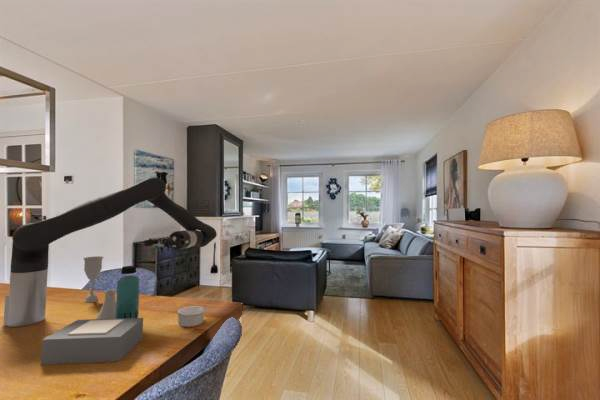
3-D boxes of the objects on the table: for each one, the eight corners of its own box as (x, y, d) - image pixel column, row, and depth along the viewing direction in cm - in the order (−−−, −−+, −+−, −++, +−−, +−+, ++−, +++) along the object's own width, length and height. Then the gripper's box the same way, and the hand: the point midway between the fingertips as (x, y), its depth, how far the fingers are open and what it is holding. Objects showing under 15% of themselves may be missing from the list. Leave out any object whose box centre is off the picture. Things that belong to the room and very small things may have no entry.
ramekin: (193, 316, 102) (193, 304, 102) (210, 321, 97) (210, 308, 97) (171, 324, 94) (171, 311, 94) (188, 330, 89) (189, 316, 90)
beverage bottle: (120, 335, 85) (123, 268, 86) (110, 330, 88) (113, 266, 89) (142, 327, 90) (144, 265, 91) (131, 323, 94) (134, 263, 95)
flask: (108, 324, 93) (109, 294, 93) (90, 322, 94) (92, 292, 95) (126, 316, 100) (127, 288, 101) (109, 315, 101) (110, 287, 102)
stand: (40, 364, 68) (42, 337, 68) (76, 340, 81) (78, 318, 81) (119, 361, 70) (120, 335, 70) (142, 338, 83) (143, 316, 83)
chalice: (92, 303, 114) (95, 259, 115) (76, 303, 114) (78, 258, 115) (105, 298, 121) (107, 256, 122) (90, 297, 122) (92, 256, 122)
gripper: (169, 230, 119) (138, 233, 103) (198, 231, 116) (171, 233, 100) (168, 248, 119) (138, 253, 103) (198, 249, 115) (171, 255, 100)
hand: (154, 243), depth 101 cm, fingers open, 8 cm apart
